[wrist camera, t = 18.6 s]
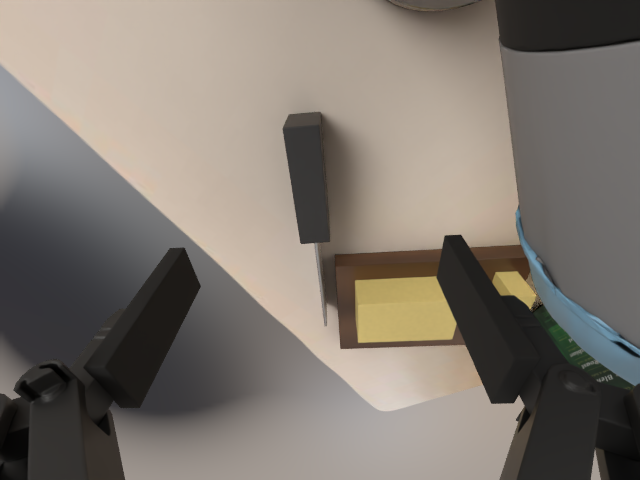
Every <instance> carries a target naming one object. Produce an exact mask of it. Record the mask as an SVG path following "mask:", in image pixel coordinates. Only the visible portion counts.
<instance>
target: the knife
mask: <svg viewBox="0 0 640 480" xmlns="http://www.w3.org/2000/svg"><path fill="white" fill-rule="evenodd" d="M283 134H284V140H285V147H286V153H287V159H288V166H289V172H290V179H291V185H292V191H293V198H294V204H295V211H296V217H297V223H298V230H299V236H300V243H301V244H307V243H314V244H315V252H316V260H317V268H318V276H319V284H320V292H321V300H322V308H323V317H324V325H325V326H327V300H326V291H325V282H324V273H323V264H322V255H321V246H320V243H323V242H330V229H329V209H328V197H327V185H326V173H325V161H324V149H323V137H322V125H321V113H320V112H312V113H301V114H290V115H289V116H288V118H287V120H286V122H285V125H284V127H283Z"/></svg>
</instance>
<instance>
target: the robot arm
mask: <svg viewBox="0 0 640 480" xmlns="http://www.w3.org/2000/svg"><path fill="white" fill-rule="evenodd" d="M387 1H389V2H391V3H393V4H395V5H398V6H401V7H404V8H407V9H411V10H416V11H427V12H429V11H443V10H449V9H454V8H459V7H463V6H466V5H470V4H472V3H475V2H478V1H480V0H387ZM495 3H496V11H497V18H498V26H499V34H500V36H499V44H500V51H501V58H502V65H503V73H504V81H505V90H506V98H507V107H508V115H509V123H510V132H511V140H512V148H513V157H514V165H515V174H516V182H517V190H518V199H519V206H518V209H517V211H516V228H517V232H518V235H519V239H520V243H521V246H522V248H523V251H524V253H525V255H526V257H527V259H528V262H529V266H530V271H531V275H532V280H533V283H534V286H535V289H536V291H537V293H538V295H539V297H540V299H541V301H542V303H543V304H544V306H545V308H546V309H547V311H548V312H549V314H550V315H551V316H552V318H553V319H554V320H555V321H556V322H557V323H558V325H559V326H560V327H561V328H562V329H564V330H565V331H566V332H567V333H568V335H569V336H570V337H571V338H572V339H573V340H574V341H575V342H576V343H577V345H578V346H579V347H581V348H582V349H583V350H584V351H585V352H586V353H588V354H589V355H590V356H592V357H593V358H594V359H595V360H597V361H598V362H599V363H601V364H602V365H604V366H605V367H606V368H608V369H609V370H611V371H612V372H613V373H615V374H617V375H618V376H620V377H621V378H623V379H624V380H626V381H628V382H629V383H631V384H633V385H634V386H635V387H634V388H633V389H632V390H629V389H625V388H621V387H617V386H613V385H609V384H605V383H601V382H598V381H596V380H595V379H594V378H593V377H592V376H591V375H589V374H588V373H587V372H586V371H584V370H582V369H581V368H579V367H577V366H574V365H571V364H570V363H569V362H568V361H567V360H566V358H565V357H564V356H563V354H562V353H561V352H560V350H559V349H558V347H557V346H556V345H555V343H554V342H553V340H552V339H551V338H550V336H549V335H548V334H547V332H546V331H545V329H544V328H543V327H541V324H540V323H539V321H538V320H537V318H535V317H534V314H533V313H532V312H531V310H530V309H529V307H528V306H527V305H526V304H525V303H524V302H523V301H521V300H520V299H519V298H517V297H516V296H515V295H500V294H499V292H498V291H497V289H496V288H495V286H494V285H493V283H492V282H491V280H490V279H489V277H488V275H487V274H486V272H485V271H484V269H483V268H482V266H481V265H480V263H479V262H478V260H477V259H476V257H475V256H474V254H473V252H472V251H471V249H470V248H469V246H468V245H467V243H466V242H465V240H464V239H463V237H462V236H461V235H446V236H445V237H444V242H443V247H442V252H441V257H440V262H439V267H438V272H437V277H436V278H437V280H438V283H439V285H440V287H441V289H442V292H443V294H444V296H445V299H446V301H447V303H448V305H449V308H450V310H451V312H452V315H453V317H454V319H455V321H456V324H457V326H458V328H459V331H460V333H461V335H462V337H463V340H464V342H465V344H466V347H467V349H468V351H469V353H470V356H471V358H472V360H473V363H474V365H475V367H476V369H477V372H478V374H479V376H480V379H481V381H482V383H483V385H484V387H485V390H486V392H487V394H488V397H489V399H490V401H491V403H492V404H496V403H498V404H499V403H514V402H515V400H516V399H517V397H518V395H519V396H520V397H521V399H522V401H523V403H524V405H525V407H524V408H523V410H522V411H521V413H520V414H519V416H518V417H517V419H516V421H518V425H517V428H516V431H515V434H514V437H513V440H512V443H511V446H510V450H509V452H508V456H507V458H506V462H505V465H504V468H503V471H502V474H501V477H500V480H591V473H592V465H593V458H594V451H595V450H596V455H597V460H598V466H599V472H600V477H601V480H640V0H495ZM200 287H201V286H200V284H199V281H198V279H197V276H196V274H195V272H194V269H193V267H192V264H191V262H190V260H189V257H188V255H187V253H186V250H185V248H170V249H169V250H168V252H167V253H166V255H165V256H164V257H163V259H162V260H161V261H160V263H159V264H158V265H157V267H156V268H155V270H154V271H153V272H152V274H151V275H150V277H149V278H148V279H147V280H146V282H145V283H144V285H143V286H142V287H141V289H140V290H139V291H138V293H137V294H136V296H135V297H134V298H133V300H132V301H131V303H130V304H129V305H128V306H127V308H126V309H119V310H118V311H117V312H115V313H114V314H113V315H112V316H110V317H109V318H108V319H107V321H106V322H105V323H104V324H103V326H102V327H101V328H100V331H98V332H97V334H96V335H95V336H94V339H93V340H91V341H90V343H89V344H88V345H87V346H86V348H85V349H84V350H83V352H82V353H81V354H80V356H79V357H78V358H77V359H76V361H75V362H74V363H73V365H72V366H71V367H70V368H68V367H67V366H66V365H64V363H63V362H62V361H60V360H57V359H53V360H48V361H45V362H42V363H39V364H38V365H36V366H34V367H33V368H31V369H29V370H28V371H27V372H26V373H25V374H24V375H22V377H21V378H20V379H19V381H18V382H17V383H16V385H15V388H14V391H15V392H16V393H17V394H19V395H20V396H21V397H20V398H16V399H13V400H11V399H10V398H9V397H7V396H6V395H5V394H0V480H125V477H124V472H123V467H122V462H121V457H120V452H119V447H118V442H117V437H116V432H115V427H114V422H113V417H112V413H111V412H110V410H109V407H110V406H111V404H112V402H113V400H114V401H115V402H116V403H117V404H118V405H119V407H121V408H140V406H141V404H142V402H143V400H144V398H145V396H146V394H147V392H148V390H149V388H150V386H151V384H152V382H153V381H154V379H155V376H156V374H157V373H158V371H159V368H160V366H161V365H162V363H163V361H164V359H165V357H166V355H167V353H168V351H169V349H170V347H171V345H172V343H173V341H174V339H175V337H176V334H177V333H178V331H179V329H180V327H181V325H182V323H183V321H184V319H185V317H186V315H187V313H188V311H189V309H190V307H191V305H192V303H193V301H194V299H195V297H196V295H197V293H198V291H199V289H200Z"/></svg>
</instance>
